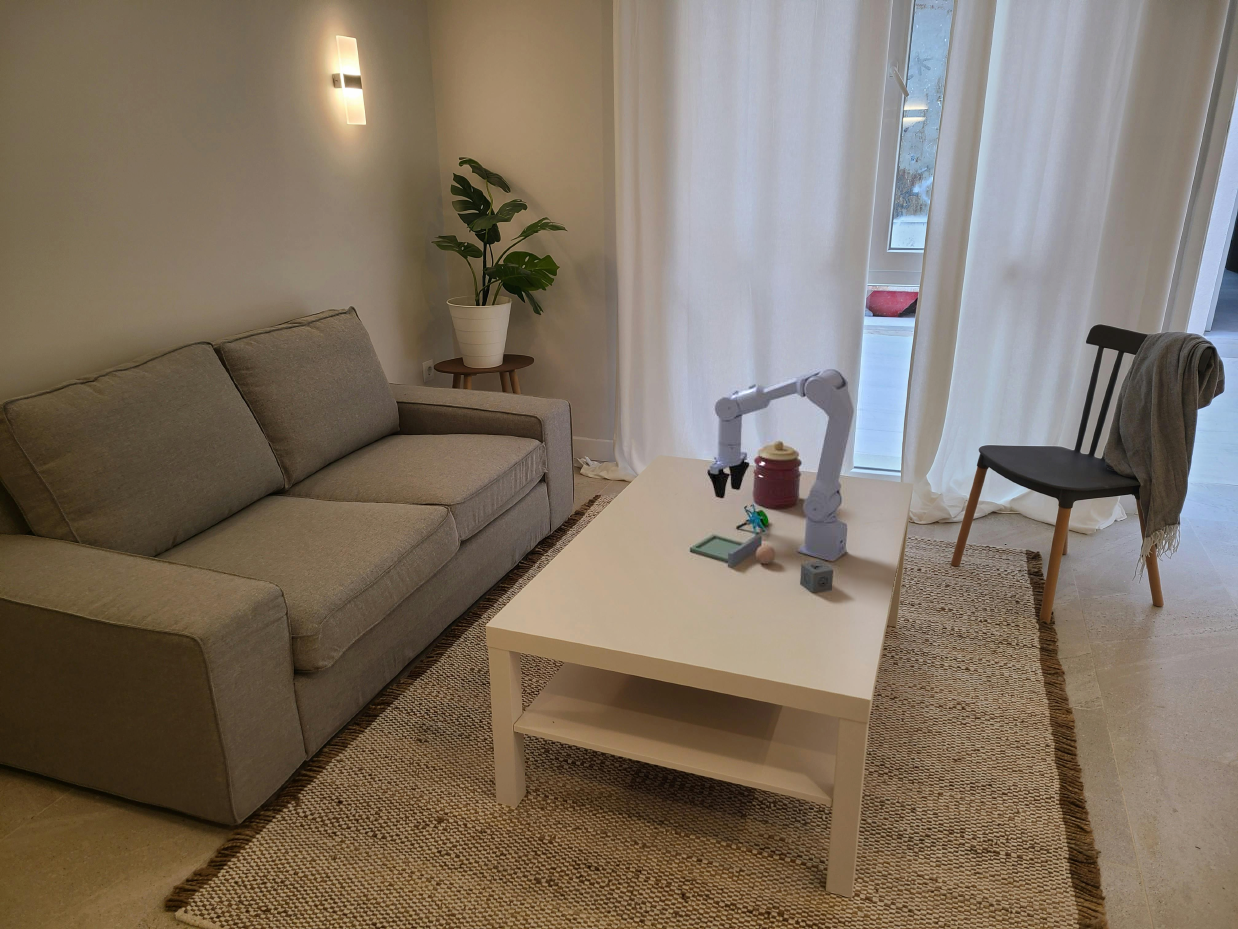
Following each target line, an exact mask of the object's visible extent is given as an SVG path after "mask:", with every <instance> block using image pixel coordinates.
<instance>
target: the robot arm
mask: <svg viewBox="0 0 1238 929" xmlns="http://www.w3.org/2000/svg"><path fill="white" fill-rule="evenodd" d="M795 394H796V395H798V396H800V397H801V398H805V397H806V398H807V399H808V400H809V401H810V402H811V403H813V405H815V406H817V407H818V408H820V409H821V410H822V411H823V412H824V413H825V414H826V415H827V417H828V419H827V426H826V430H825V436H824V439H823V444H822V450H821V453H820V458H819V464H818V468H817V472H816V478H815V481H814V482H813V485H812V486H811V488H810V491H809V494H808V496H807V498H806V499H805V500H804V501H803V505H802V510H803V513H804V515H805V516H806V517H805V530H804V531H805V533H804V542H803V543H804V545H802V546H801V547H800V548H797V553H798V554H799V553H800V554H803V555H807V556H812V557H813V558H814V557H815V558H816V559H817V558H818V559H822V560H824V561H825V560H826V561H828V562H832V563H833V562H835V561H836V560H837V559H838V558H840V557H841V556H843V555H845V553H846V552H847V548H846V547H847V539H848V524H847V523H846V522H844V521H843V520H842V521H841V520H840V519H839V518H838V513H837V509H838V508H840V506H841V505H842V502H843V497H842V493H841V488H842V484H841V483H840V477H841V476H840V475H841V471H842V467H843V463H844V457H845V455H846V449H847V445H848V439H849V436H850V431H851V426H852V422H853V418H854V412H855V411H854V410H855V409H854V405H853V402H852V398H851V396H850V392H849V381H848V380H847V379H846V378H845V376H844V375H843V374H842V373H841V372H840V371H839V370H837V369H835V368H830V369H829V368H828V369H826V370H823V371H822V372H821V371H815V372H811V373H805V374H801V375H799V376H796V377H794V378H791V379H789V380H786V381H783V382H781V383H777V384H775V385H774V384H773V385H771V386H770V387H765V386H764V385H762V384H759V385H757V384H755V383H754V384H751V385H749V386H748V388H746V389H744V390H740V391H738V390H735V391H733V392H732V393H731V394H728V395H726V396H723V397H721V398H720V399H718V400H717V401H716V402H715V405H714V411H715V415H716V416H717V418H718V428H717V429H718V431H717V455H715V456H713V460H714V461H713V463H711V464H710V465H709V469H707V475H708V478H710V479H709V480H710V481H711V483H712V486H713V490H714V491H713V492H714V496H715V498H718V499H724V498H725V496H726V489H727V483H728V480H729V478H730V487H731V489H732V490H737V491H739V490H740V489H741V486H742V483H743V481H744V480H743V479H744V477H745V474H746V472H747V471H748V469H749V467H750V462H749V461H747V460H748V453H747V452H745V451H742V450H741V448H742V428H743V427H742V426H743V424H742V422H743V421H742V420H743V416H744V415H748V414H751V413H754V412H757V411H760V410H763V409H767V408H768V406H769V405H770V403H771V401H774V400H777V399H781V398H784V397H788V396H791V395H795ZM727 468H728V470H729V472H728V473H727V472H725V469H727Z"/></svg>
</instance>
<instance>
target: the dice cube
mask: <svg viewBox="0 0 1238 929" xmlns="http://www.w3.org/2000/svg"><path fill="white" fill-rule="evenodd" d="M800 567H801V569H800V580H799V585H800V586H802V587H803V588H804V589H805V590H807V591H808V592H810V593H811V594H818V593H823V592H828V591H832V590H833V581H834V568H832V567H831V566H829V565H828V564H827V563H825V562H824V561H822V560H817V561H812V562H811V561H810V562H806V563H801V566H800Z"/></svg>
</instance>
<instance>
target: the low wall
mask: <svg viewBox="0 0 1238 929" xmlns="http://www.w3.org/2000/svg"><path fill="white" fill-rule="evenodd" d="M762 541H763V535H762V534H760V533H759V534H757V535H754V536H753V537H751V538H750V539H748V540H746V541H745V542H743V544H742V545H740V546H738V547H737V548H735V549H734V550H732V551H730V552H729V553H728V563H727V567H728V568H733V567H734V566H736V565H738V564H739V563H741V562H742V561H744V560H745V559H747V558H749V557H750V556H753V554H754V553H755V554H756V551H757V549H758V548H759V547H760V546H762V545H763V544H762Z"/></svg>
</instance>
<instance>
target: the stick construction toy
mask: <svg viewBox="0 0 1238 929" xmlns="http://www.w3.org/2000/svg"><path fill="white" fill-rule="evenodd" d="M750 507H752V509H753V511H751V510H750V509H747V508H748V505H745V506H743V509H744V511H745V513H746V515H747V517H748V518H747V519H746V520H744V522H743V523H741V524H739V525H737V526H736V529H737V530H738V529H741V528H744V527H745V526H750V525H752V528H753V531H754V534H755V535H754V536H756V535H758V534H760V533H759V531H758V532H757V529H756V528H758V529H759V528H761V530H762V531H761V533H762V532H764V533H765V532H766V530H765V528H764V527H767V526H769V517H768V515H767V514H766V512H765V511H764V510H762V509H760V510H758V511H756V510H757V509H756V507H755V504H754V503H752V504H750Z"/></svg>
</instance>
